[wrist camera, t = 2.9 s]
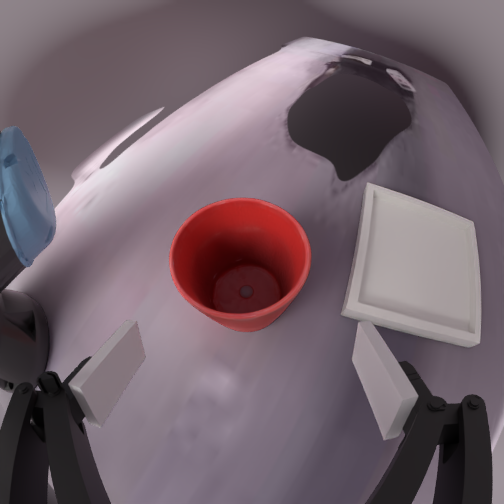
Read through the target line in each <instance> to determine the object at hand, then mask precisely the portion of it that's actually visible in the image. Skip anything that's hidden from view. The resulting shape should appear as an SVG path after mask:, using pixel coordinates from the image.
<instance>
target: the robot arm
mask: <svg viewBox="0 0 504 504" xmlns="http://www.w3.org/2000/svg"><path fill="white" fill-rule="evenodd" d="M55 231H56V216H55V211H54V206H53V203H52V200H51V196H50V193H49V190H48V187H47V184H46V182H45V180H44V177H43V174H42V171H41V169H40V166H39V164H38V162H37V159H36V157H35V155H34V153H33V150H32V148H31V146H30V144H29V142H28V141H27V139H26V138H25V137H24V135H23V133H22V131H21V130H20V129H19V128H18V127H15V126H11V127H9V128H5V129H4V130H3V131H2V132H1V131H0V388H1V389H2V390H4V391H7V392H10V393H13V395H12V397H11V400H10V403H9V405H8V408H7V411H6V414H5V417H4V420H3V423H2V426H1V429H0V504H47V488H48V486H47V485H48V469H49V466H50V471H51V477H52V481H53V486H54V490H55V494H56V498H57V502H58V504H111V502H110V500H109V498H108V495H107V493H106V491H105V488H104V486H103V483H102V480H101V478H100V475H99V472H98V469H97V466H96V463H95V460H94V457H93V454H92V451H91V447H90V444H89V440H88V437H87V433H86V429H85V425H84V423H83V421H82V420H83V418H84V417H86V419H87V420H88V422H89V424H92V425H95V426H98V427H102V426H103V424H104V422H105V421H106V419H107V418H108V416H109V414H110V413H111V411H112V410H113V408H114V406H115V405H116V403H117V402H118V400H119V398H120V397H121V395H122V394H123V392H124V390H125V389H126V387H127V386H128V384H129V383H130V381H131V379H132V378H133V376H134V375H135V373H136V372H137V370H138V369H139V367H140V366H141V364H142V362H143V361H144V359H145V358H146V356H145V352H144V348H143V344H142V340H141V336H140V332H139V328H138V324H137V321H132V320H126V321H125V322H124V323H123V324H122V325H121V326H120V327H119V328H118V329H117V331H116V332H115V333H114V334H113V335H112V336H111V337H110V338H109V339H108V340H107V341H106V342H105V343H104V345H103V346H102V347H101V348H100V349H99V350H98V351H97V352H96V353H95V354H94V355H93V357H88V358H86V359H85V360H83V361H82V362H81V363H80V364H79V365H78V367H76V368H75V369H74V371H73V372H72V373H71V374H70V375H69V376H68V377H67V378H66V379H65V380H64V382H63V383H61V381H60V378H59V376H58V374H57V373H56V372H53V371H47V372H44V369H45V366H46V362H47V357H48V349H49V332H48V325H47V320H46V317H45V314H44V312H43V309H42V308H41V306H40V305H39V304H38V302H37V301H35V300H34V299H32V298H31V297H29V296H28V295H26V294H24V293H22V292H18V291H13V290H7V289H5V288H6V287H7V286H8V285H9V284H10V283H11V282H12V281H13V280H14V279H15V278H16V277H17V276H18V275H19V274H20V273H21V272H22V271H23V270H24V269H25V268H26V267H30V266H31V265H32V263H33V261H34V259H35V258H36V257H37V256H38V255H39V254H40V253H41V252H42V251H43V250H44V249H45V248H46V247H47V246H48V245H49V244H50V243H51V241H52V240H53V237H54V235H55ZM352 361H353V364H354V366H355V368H356V371H357V373H358V376H359V378H360V380H361V383H362V385H363V388H364V390H365V393H366V395H367V398H368V400H369V403H370V405H371V408H372V410H373V413H374V415H375V418H376V421H377V423H378V426H379V429H380V431H381V434H382V437H383V439H384V440H387V439H391V438H395V437H399V435H400V433H401V431H402V429H403V430H404V433H405V437H404V438H403V440H402V442H401V444H400V445H399V447H398V450H397V452H396V454H395V456H394V458H393V460H392V462H391V463H390V465H389V467H388V469H387V470H386V472H385V474H384V475H383V477H382V479H381V480H380V482H379V484H378V485H377V487H376V488H375V490H374V491H373V493H372V494H371V496H370V497H369V499H368V500H367V502H366V503H365V504H412V502H413V500H414V498H415V496H416V494H417V492H418V490H419V488H420V486H421V483H422V481H423V479H424V477H425V474H426V472H427V470H428V467H429V465H430V462H431V460H432V457H433V455H434V452H435V449H436V446H437V445H440V449H439V462H438V472H437V480H436V487H435V494H434V499H433V504H492V453H491V441H490V432H489V425H488V418H487V412H486V406H485V402H484V400H483V399H482V398H481V397H479V396H477V395H473V394H471V395H467V396H465V397H464V399H463V400H462V402H461V403H457V404H447V403H446V401H445V400H444V399H442V398H440V397H437V396H433V395H432V394H431V392H430V391H429V389H428V388H427V386H426V385H425V383H424V382H423V380H422V379H421V377H420V376H419V374H417V371H416V370H415V368H414V367H413V366H412V365H411V364H409V363H408V362H406V361H403V362H397V360H396V359H395V357H394V356H393V354H392V352H391V351H390V349H389V348H388V346H387V345H386V343H385V342H384V340H383V339H382V337H381V336H380V334H379V333H378V331H377V330H376V328H375V327H374V325H373V324H372V322H371V321H361V322H358V327H357V334H356V340H355V345H354V351H353V356H352ZM43 372H44V373H43ZM37 384H38V386H39V388H40V390H41V391H36V390H35V389H34V388H35V387H36V386H37ZM30 422H31V423H30Z"/></svg>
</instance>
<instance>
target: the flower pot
mask: <svg viewBox="0 0 504 504" xmlns="http://www.w3.org/2000/svg"><path fill="white" fill-rule="evenodd" d="M169 265H170V272H171V276H172V279H173V281H174V284H175V286H176V288H177V289H178V291H179V292H180V294H181V295H182V296H183V297H184V298H185V299H186V300H187V301H188V302H189V303H190V304H191V305H192V306H193V307H195V308H196V309H198V310H199V311H200V312H202V313H203V314H205V315H206V316H208V317H209V318H211V319H213V320H214V321H216V322H218V323H220V324H221V325H223V326H225V327H228V328H230V329H233V330H236V331H241V332H253V331H258V330H260V329H263V328H265V327H266V326H268V325H270V324H271V323H272V322H273V321H274V320H275V319H277V318H278V317H279V316H280V315H281V314H282V313H283V312H284V311H285V309H286V308H287V307H288V306H289V305H290V304H291V302H292V301H293V300H294V299H295V297H296V296H297V295H298V293H299V292H300V290H301V289H302V287H303V285H304V283H305V282H306V280H307V277H308V275H309V271H310V267H311V247H310V243H309V240H308V237H307V235H306V233H305V231H304V229H303V228H302V226H301V225H300V224H299V222H298V221H297V220H296V219H295V218H294V217H293V216H292V215H291V214H289V213H288V212H287V211H285V210H284V209H282V208H280V207H279V206H276V205H274V204H272V203H269V202H266V201H263V200H259V199H254V198H231V199H225V200H221V201H218V202H215V203H212V204H209V205H207V206H205V207H203V208H201V209H200V210H198V211H196V212H195V213H194V214H192V215H191V216H190V217H189V218H188V219H187V220H186V221H185V222H184V223H183V224H182V226H181V227H180V228H179V230H178V231H177V233H176V235H175V237H174V239H173V242H172V245H171V248H170V255H169Z"/></svg>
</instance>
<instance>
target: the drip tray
mask: <svg viewBox="0 0 504 504" xmlns="http://www.w3.org/2000/svg"><path fill="white" fill-rule="evenodd" d="M341 316H345V317H348V318H352V319H356V320H359V321H371V322H372V324H374V325H378V326H381V327H385V328H389V329H393V330H397V331H401V332H404V333H408V334H412V335H416V336H420V337H424V338H429V339H433V340H437V341H441V342H445V343H450V344H454V345H458V346H463V347H467V348H470V347H473V346H475V345H477V344H480V335H481V282H480V268H479V257H478V248H477V241H476V234H475V227H474V222H472V221H470V220H468V219H466V218H463V217H461V216H459V215H456V214H454V213H452V212H449V211H447V210H444V209H442V208H439V207H437V206H434V205H432V204H429V203H426V202H424V201H421V200H418V199H416V198H413V197H410V196H407V195H404V194H401V193H399V192H396V191H393V190H390V189H387V188H383V187H380V186H377V185H374V184H371V183H368V182H367V185H366V188H365V190H364V193H363V201H362V208H361V215H360V222H359V228H358V234H357V240H356V246H355V252H354V257H353V262H352V267H351V272H350V277H349V282H348V286H347V291H346V295H345V299H344V304H343V308H342V312H341Z"/></svg>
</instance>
